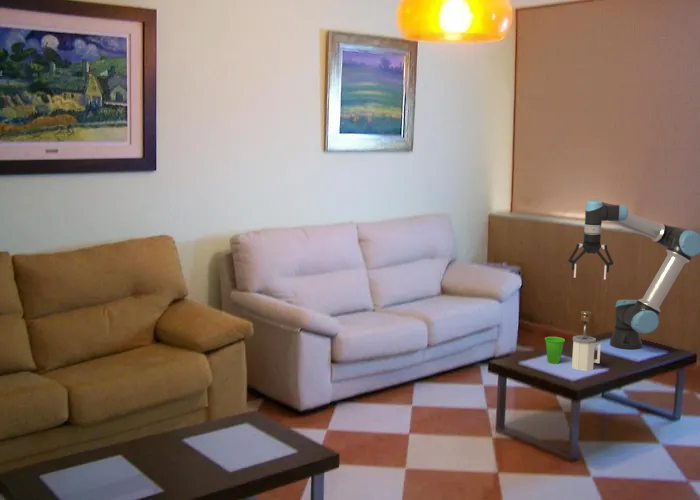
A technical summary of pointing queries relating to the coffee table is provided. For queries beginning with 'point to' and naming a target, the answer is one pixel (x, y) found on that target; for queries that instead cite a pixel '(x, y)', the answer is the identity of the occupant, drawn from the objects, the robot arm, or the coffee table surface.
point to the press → (584, 353)
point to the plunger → (585, 320)
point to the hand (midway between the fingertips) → (589, 278)
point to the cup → (554, 349)
